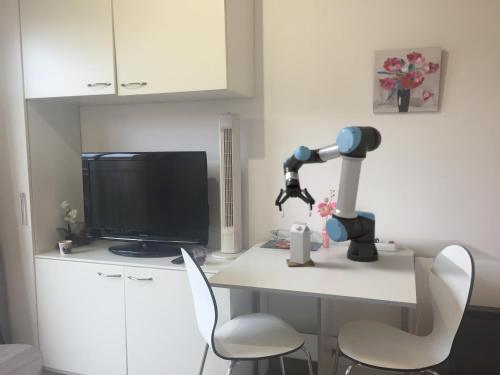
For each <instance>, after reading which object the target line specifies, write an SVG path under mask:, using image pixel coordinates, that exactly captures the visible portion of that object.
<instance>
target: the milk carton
mask: <svg viewBox="0 0 500 375" xmlns="http://www.w3.org/2000/svg"><path fill="white" fill-rule="evenodd" d="M310 258H311V229H310V228H309V226H308V225H307V222H303V221H302V222H300V221H293V222H292V225H291V227H290V230H289V259H290V262H294V263H300V264H304V263H306V262H308V261H310Z"/></svg>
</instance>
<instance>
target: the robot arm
mask: <svg viewBox="0 0 500 375" xmlns="http://www.w3.org/2000/svg"><path fill="white" fill-rule="evenodd" d="M382 138H383V137H382V134H381V132H380V131H379V130H378V129H377V127H373V126H362V125H361V126H360V125H359V126H358V125H351V126H346V127H343V128H342V129H341V130H340V131H339V132H338V133H337V135H336V139H335V143H332V144H331V143H330V144H329V145H326V146H322V147H319V148H317V149H315V148H314V149H310V148H309V147H307V146H304V145H300V146H299V147H298V148H296V150H294V152H293V154H292V155H291V156H289V157H286V158H285V159H283V162H282V163H283V164H282V165H283V176H284V182H285V183H284V184H285V189H283V188H280V191H279V193H278V196H277V197H276V199H275V201H274V206H276V207H277V206H278V211H279V212H281V218H284V216H285V212H284V204H285V203H286V201H288V200H289V199H290V198H298V199H300V200H301V201H303V202H304V203H305V204H307V211H308V217H311V218H312V211H313V206H314V205H315V203H316V200H315V199H314V197H313V196H312V194H310V192H309V190H308V188H306V187H304V189H302V188H301V184H300V175H299V170H300V169H301V168H302V166H304V165H309V164H311V165H312V164H323V163H324V164H325V163H327V162H328V161H330V160H334V159H337V158H341V159H342V162H341V169H340V177H339V184H338V191H337V200H336V208H335V209H334V210H332V212H331V213H332V214H331V217H330V218H328V219H327V220H326V222H325V232H326V234H327V236H328V237H329V239H330V240H331V241H333V242H336V243H344V242H347V241H350V242H349V245H348V248H347V251H346V258H347V259H349V260H351V261H354V262H365V263H366V262H368V263H370V262H374V261H377V260H379V252H378V248H377V245H376V215H375V214H374V213H373V212H370V211H363V210H361V211H360V210H356V205H357V204H356V203H357V199H358V192H359V186H360V185H359V184H360V183H359V182H360V178H361V176H360V175H361V171H362V170H361V169H362V163H363V161H364V160H365V159H367V155H368V154H367V153H369V152H370V153H371V152H374V151H375V150H377V149H379V147H380V145H381V143H382ZM284 194H285V195H284ZM283 195H284V197H283Z"/></svg>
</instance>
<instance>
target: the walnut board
mask: <svg viewBox="0 0 500 375" xmlns="http://www.w3.org/2000/svg"><path fill="white" fill-rule="evenodd" d="M285 262H286V263H287V264H286V265H287V266H288V268H302V267H303V268H304V267H307V268H308V267H315V263H314V261H313V260H312V257H310V261H308V262H306V263H304V264H300V263H294V262H290V258H286V261H285Z"/></svg>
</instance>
